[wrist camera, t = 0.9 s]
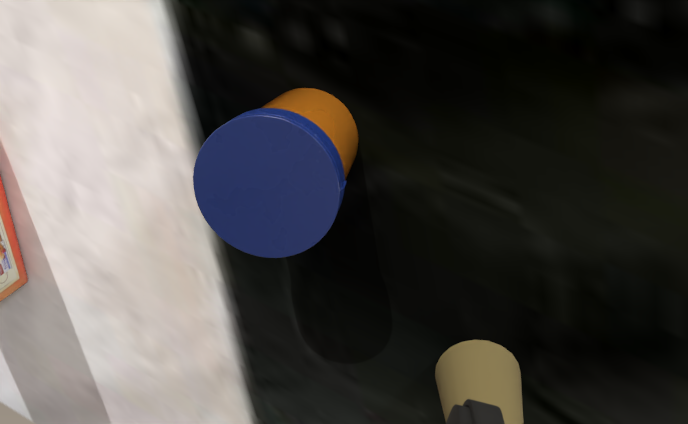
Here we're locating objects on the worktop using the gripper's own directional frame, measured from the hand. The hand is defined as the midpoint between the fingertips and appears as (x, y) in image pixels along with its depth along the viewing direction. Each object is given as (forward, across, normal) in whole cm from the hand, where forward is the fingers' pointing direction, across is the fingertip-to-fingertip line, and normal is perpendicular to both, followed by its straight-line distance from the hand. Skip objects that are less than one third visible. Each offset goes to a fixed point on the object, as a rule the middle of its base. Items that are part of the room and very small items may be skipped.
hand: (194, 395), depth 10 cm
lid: (+16, +2, +2) cm, 16 cm away
